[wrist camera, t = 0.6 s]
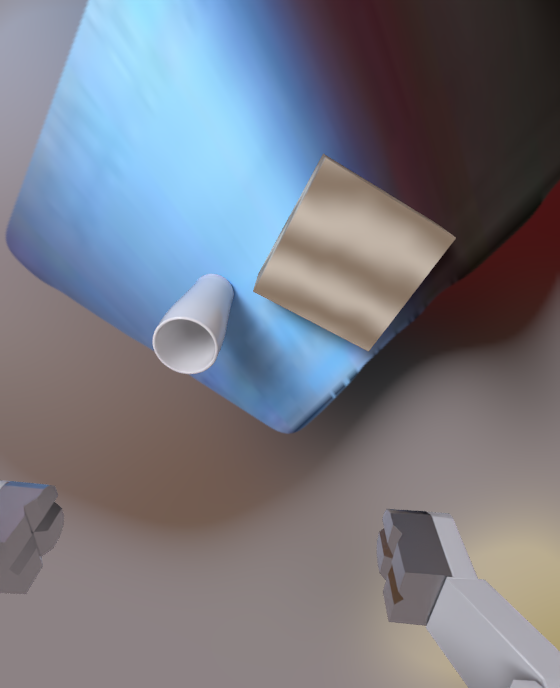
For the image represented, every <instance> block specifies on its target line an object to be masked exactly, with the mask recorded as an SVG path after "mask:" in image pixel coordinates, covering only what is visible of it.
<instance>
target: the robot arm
mask: <svg viewBox="0 0 560 688" xmlns="http://www.w3.org/2000/svg"><path fill="white" fill-rule="evenodd" d="M57 497H58V493H57V490H56V488H55V486H52V485H44V484H34V483H23V482H14V481H2V480H0V593H13V594H26V593H27V592H28V590H29V588H30V587H31V585H32V583H33V582H34V580H35V578H36V576H37V575H38V573H39V572H40V570H41V568H42V565H43V564H42V556H43V555H45V554H46V553H47V552H49V551H50V550H51V549H53V548H54V546H55V544H56V543H57V541H58V539H59V537H60V534H61V531H62V528H63V524H64V514H63V511H62V508H61V507H60V506H59V505H58V504H56V503H55V502H54V501H55V500H56V498H57ZM383 524H384V529H382V530H381V531H379V535H378V540H377V561H378V567H379V572H380V574H381V575H382V576H383V578H384V579H385V580H386V583H385V586H384V590H383V594H384V599H385V605H386V610H387V615H388V620H389V622H396V623H406V624H416V625H425V626H426V628H427V630H428V631H429V633H430V634H431V636H432V637H433V639H434V640H435V641H436V643H437V644H438V646H439V647H440V648H441V650H442V651H443V652H444V654H445V655H446V657H447V658H448V660H449V661H450V662H451V664H452V665H453V667H454V668H455V670H456V671H457V672H458V674H459V675H460V677H461V678H462V679H463V681H464V682H465V684H466V685H467V686H468V688H560V652H559V651H558V650H557V649H556V648H555V647H554V646H553V645H552V644H551V643H550V642H549V641H548V640H547V639H546V638H545V637H544V636H543V635H542V634H541V633H540V632H539V631H538V630H537V629H535V628H534V627H533V626H532V625H531V624H530V623H529V622H528V621H527V620H526V619H525V618H524V617H523V616H522V615H521V614H520V613H519V612H518V611H517V610H516V609H515V608H513V606H512V605H510V604H509V603H508V602H507V601H506V600H505V599H504V598H503V597H502V596H501V595H500V594H499V593H498V592H497V591H496V590H495V589H494V588H493V587H492V586H491V585H490V584H489V583H488V582H486V581H485V580H482V579H478V578H477V575H476V573H475V570H474V568H473V565H472V563H471V561H470V558H469V556H468V553H467V551H466V548H465V546H464V544H463V541H462V539H461V536H460V534H459V531H458V529H457V527H456V524H455V522H454V519H453V517H452V516H451V515H450V514H449V513H436V512H426V511H411V510H394V509H387V510H386V511H385V512H384V516H383Z"/></svg>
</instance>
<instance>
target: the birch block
mask: <svg viewBox="0 0 560 688" xmlns="http://www.w3.org/2000/svg"><path fill="white" fill-rule="evenodd" d="M455 239H456V238H455V237H454V236H453V235H451V234H450V233H449V232H447V231H446V230H445V229H443V228H442V227H441V226H439V225H438V224H436V223H435V222H433V221H431V220H430V219H428V218H427V217H425V216H423V215H422V214H420V213H418V212H417V211H415V210H414V209H412V208H410V207H409V206H407V205H406V204H404V203H402V202H401V201H399V200H397V199H396V198H394V197H393V196H391V195H389V194H388V193H386V192H384V191H383V190H381V189H380V188H378V187H376V186H375V185H373V184H372V183H370V182H368V181H367V180H365V179H363V178H362V177H360V176H359V175H357V174H355V173H354V172H352V171H351V170H349V169H347V168H346V167H344V166H342V165H341V164H339V163H338V162H336V161H334V160H333V159H331V158H329V157H328V156H326V155H325V154H323V155H322V157H321V159H320V161H319V163H318V165H317V166H316V168H315V170H314V172H313V174H312V176H311V178H310V179H309V181H308V183H307V185H306V187H305V189H304V190H303V192H302V194H301V196H300V198H299V200H298V202H297V203H296V205H295V207H294V209H293V211H292V213H291V215H290V216H289V218H288V220H287V222H286V224H285V226H284V228H283V229H282V231H281V233H280V235H279V237H278V239H277V240H276V242H275V244H274V246H273V248H272V250H271V252H270V253H269V255H268V257H267V259H266V261H265V263H264V265H263V266H262V268H261V270H260V272H259V274H258V277H257V280H256V283H255V287H254V290H253V292H255V293H257V294H259V295H261V296H263V297H265V298H267V299H269V300H271V301H272V302H274V303H276V304H278V305H280V306H282V307H284V308H286V309H288V310H290V311H292V312H294V313H295V314H297V315H299V316H301V317H303V318H305V319H307V320H309V321H311V322H313V323H315V324H317V325H319V326H320V327H322V328H324V329H326V330H328V331H330V332H332V333H334V334H336V335H338V336H340V337H342V338H344V339H345V340H347V341H349V342H351V343H353V344H355V345H357V346H359V347H361V348H363V349H365V350H367V351H368V352H369V350H370V349H371V348H372V346H373V345H374V344H375V343H376V341H377V340H378V339H379V337H380V336H381V335H382V333H383V332H384V331H385V330H386V328H387V327H388V326H389V324H390V323H391V322H392V320H393V319H394V318H395V317H396V315H397V314H398V313H399V311H400V310H401V309H402V307H403V306H404V305H405V304H406V302H407V301H408V300H409V298H410V297H411V296H412V294H413V293H414V292H415V291H416V289H417V288H418V287H419V285H420V284H421V283H422V281H423V280H424V279H425V278H426V276H427V275H428V274H429V272H430V271H431V270H432V268H433V267H434V266H435V265H436V263H437V262H438V261H439V259H440V258H441V257H442V255H443V254H444V253H445V252H446V250H447V249H448V248H449V246H450V245H451V244H452V242H453V241H454V240H455Z"/></svg>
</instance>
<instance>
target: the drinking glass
mask: <svg viewBox="0 0 560 688" xmlns="http://www.w3.org/2000/svg"><path fill="white" fill-rule="evenodd" d="M233 297H234V292H233V288H232V286H231V284H230V283H229V281H228V280H227V279H225V278H224V277H222V276H220V275H218V274H206V275H203V276H202V277H200V278H199V279H198V280H197V281H196V282H195V284H194V285H193V286H192V287H191V288H190V289H189V290H188V291H187V292H186V293H185V294H184V295H183V296H182V297H181V298H180V299H179V300H178V301H177V302H176V303H175V304H174V305H173V306H172V307H171V308H170V309H169V310H168V311H167V313H166V314H165V315H164V317H163V318H162V320H161V321H160V323H159V325H158V327H157V328H156V330H155V332H154V335H153V347H154V351H155V353H156V355H157V357H158V358H159V359H160V361H161V362H162V363H163V364H165V365H166V366H167V367H169V368H170V369H172V370H174V371H177V372H180V373H184V374H196V373H200V372H203V371H205V370H207V369H208V368H209V367H211V366H212V365H213V363H214V362H215V360H216V358H217V356H218V354H219V352H220V350H221V347H222V344H223V342H224V338H225V334H226V329H227V324H228V318H229V313H230V308H231V304H232V301H233Z"/></svg>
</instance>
